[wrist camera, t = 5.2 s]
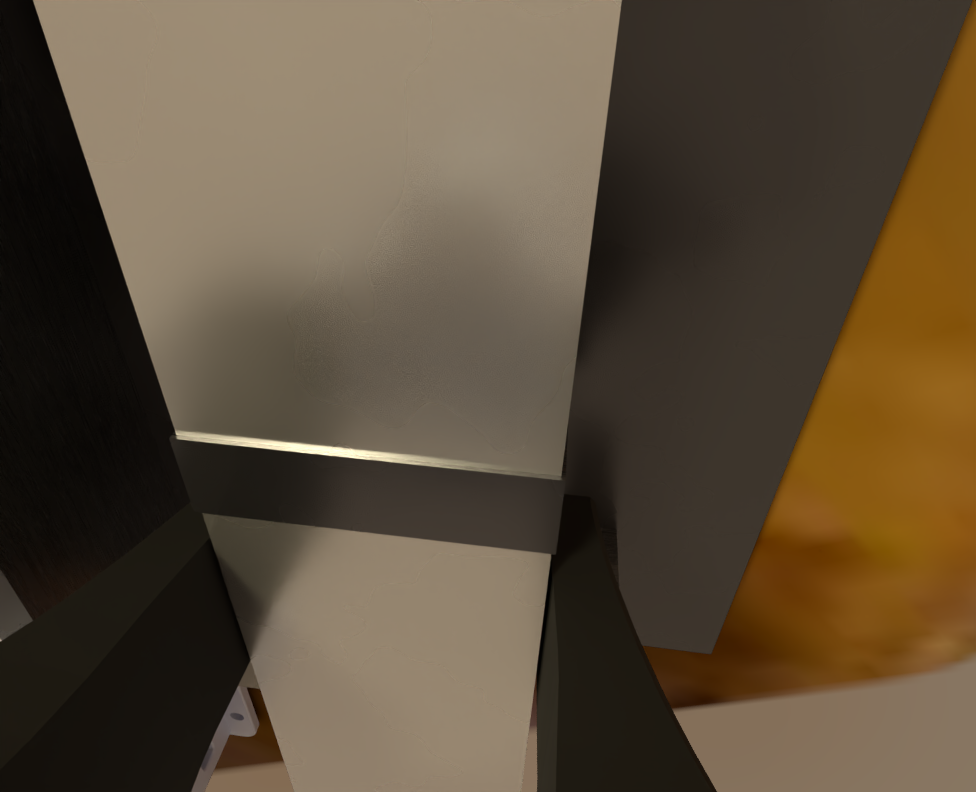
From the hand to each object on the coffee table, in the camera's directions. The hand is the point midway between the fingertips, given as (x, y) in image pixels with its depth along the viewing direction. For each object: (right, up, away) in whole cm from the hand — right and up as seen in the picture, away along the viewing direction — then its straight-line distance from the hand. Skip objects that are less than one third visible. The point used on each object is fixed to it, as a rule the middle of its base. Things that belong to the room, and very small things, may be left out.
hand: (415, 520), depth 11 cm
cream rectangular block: (0, +1, +2) cm, 2 cm away
